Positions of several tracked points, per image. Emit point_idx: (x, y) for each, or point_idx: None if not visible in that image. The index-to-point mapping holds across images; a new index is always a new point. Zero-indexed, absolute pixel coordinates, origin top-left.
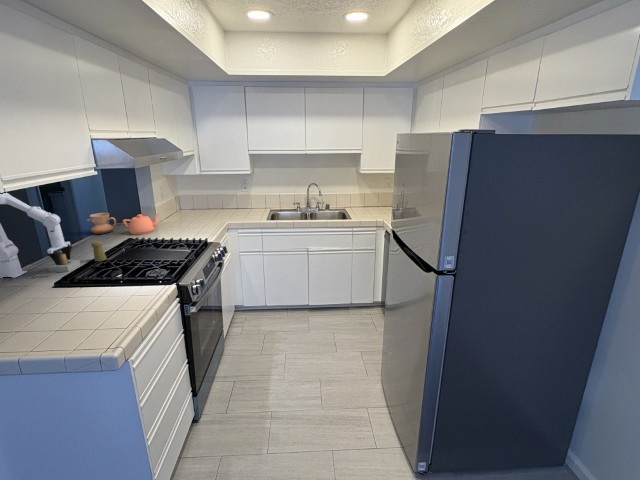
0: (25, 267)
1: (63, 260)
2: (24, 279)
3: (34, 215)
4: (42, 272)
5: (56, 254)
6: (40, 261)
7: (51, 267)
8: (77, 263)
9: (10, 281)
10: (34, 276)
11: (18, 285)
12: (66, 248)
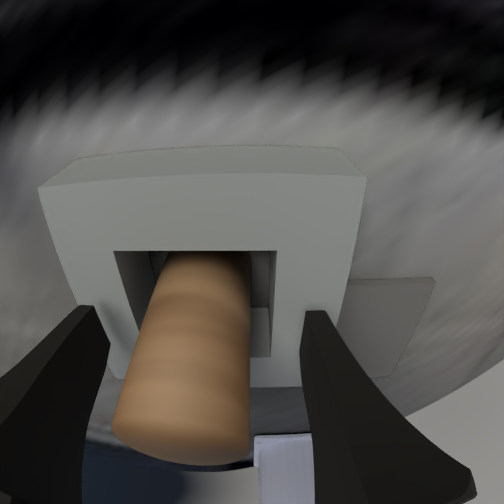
0: None
1: (230, 335)
2: (398, 386)
3: None
4: None
5: (461, 475)
6: (102, 434)
7: None
8: (107, 165)
9: None
10: (388, 370)
11: (486, 349)
12: (23, 474)
